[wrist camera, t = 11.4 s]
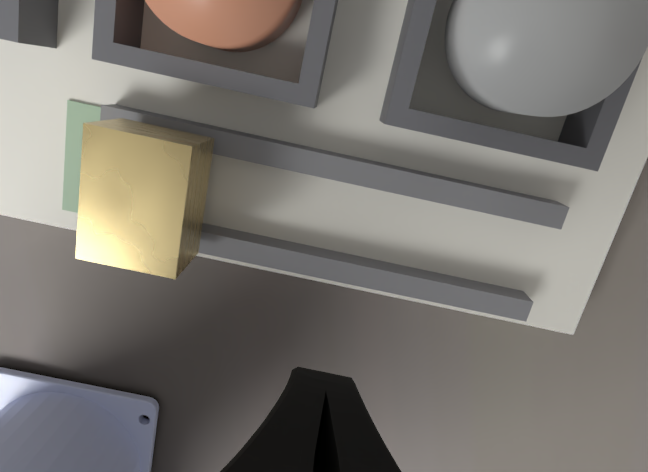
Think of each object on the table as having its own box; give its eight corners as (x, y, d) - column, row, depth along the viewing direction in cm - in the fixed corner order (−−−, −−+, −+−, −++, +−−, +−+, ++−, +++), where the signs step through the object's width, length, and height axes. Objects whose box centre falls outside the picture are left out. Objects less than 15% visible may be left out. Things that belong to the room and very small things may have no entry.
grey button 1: (569, 127, 15) (613, 134, 12) (426, 95, 15) (443, 96, 12) (627, -35, 13) (690, -63, 11) (470, -73, 13) (500, -109, 11)
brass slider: (207, 242, 17) (175, 279, 14) (127, 225, 17) (75, 258, 14) (223, 134, 16) (192, 146, 13) (137, 116, 16) (83, 122, 13)
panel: (556, 317, 20) (600, 362, 17) (-213, 155, 19) (-332, 168, 16) (697, -35, 16) (792, -69, 13) (-266, -265, 15) (-442, -369, 12)
